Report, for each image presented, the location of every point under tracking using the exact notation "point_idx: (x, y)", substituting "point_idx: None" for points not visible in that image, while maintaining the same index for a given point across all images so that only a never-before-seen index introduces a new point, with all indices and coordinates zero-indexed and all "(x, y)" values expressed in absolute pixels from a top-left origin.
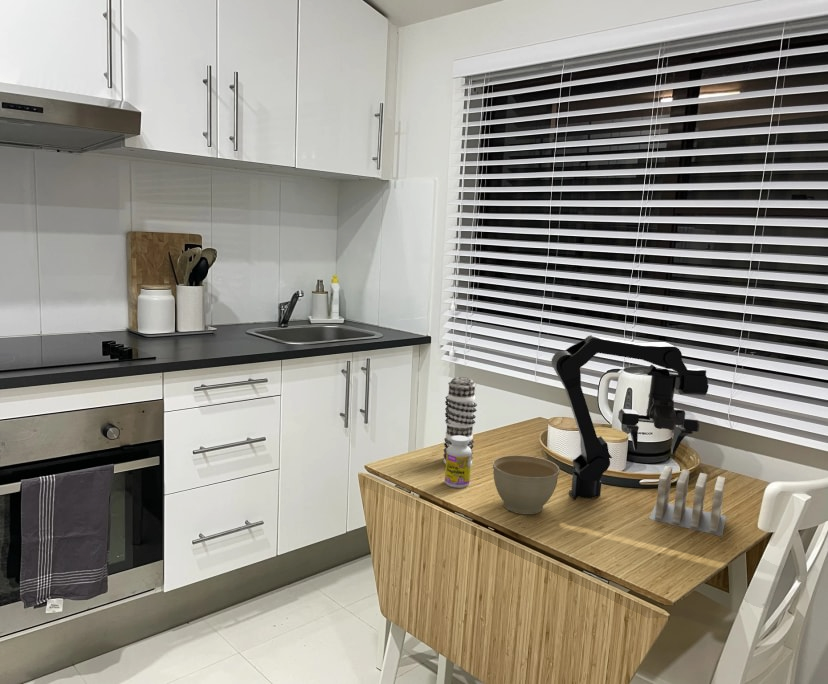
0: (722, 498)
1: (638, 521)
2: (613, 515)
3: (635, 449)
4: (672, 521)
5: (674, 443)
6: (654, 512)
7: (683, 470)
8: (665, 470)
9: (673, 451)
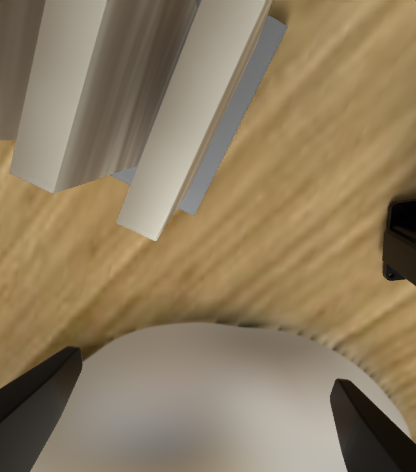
0: None
1: (317, 40)
2: (394, 87)
3: (351, 385)
4: (196, 12)
5: (8, 434)
6: (240, 100)
7: (52, 169)
8: (184, 145)
9: (59, 361)
